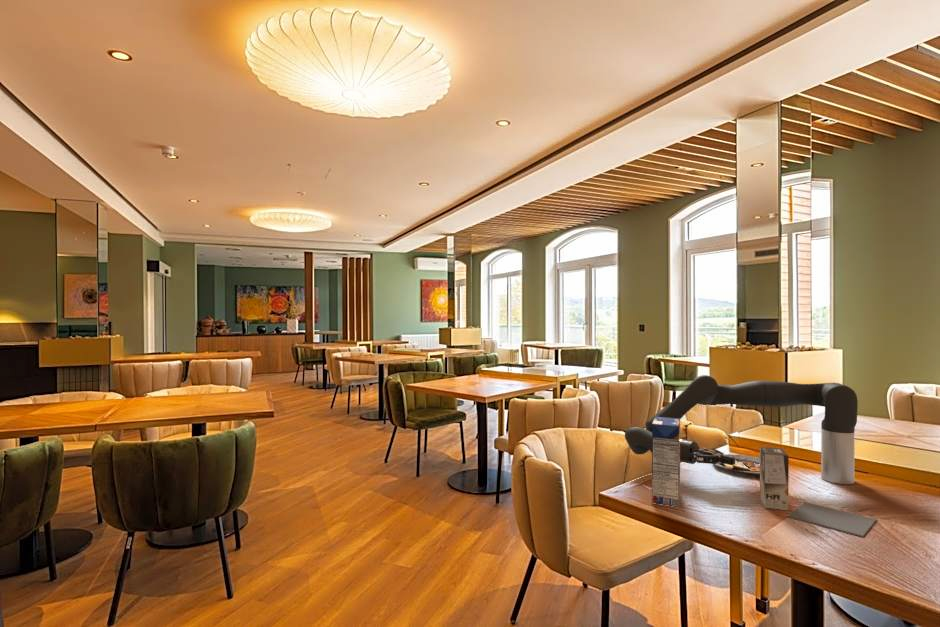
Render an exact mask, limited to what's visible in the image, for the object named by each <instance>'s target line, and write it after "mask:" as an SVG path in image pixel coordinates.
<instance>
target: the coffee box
mask: <svg viewBox="0 0 940 627" xmlns="http://www.w3.org/2000/svg"><path fill="white" fill-rule="evenodd" d="M759 458H760V465H759V467H760V475H759V499H760V502H761V503H762V505H763V507H764V508H765V509H774V510H781V511H789V478H790V477H789V472H790V471H789V469H790V467H789V464H790V462H789V460H790V458H789V455H788V454H787V452H786V451H785V450H784V448H780V447H770V446H760V447H759Z"/></svg>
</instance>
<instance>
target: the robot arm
mask: <svg viewBox="0 0 940 627" xmlns="http://www.w3.org/2000/svg"><path fill="white" fill-rule="evenodd" d="M858 404H859V403H858V396H857V394H856V391H855V390H854V389H853V388H851V387H850V386H848V385H845V384H843V383H839V382H824V383H797V382H788V381H778V380H777V381H776V380H751V381H746V382H742V383H737V384H732V385H731V384H729V385H726V384H724V385H723V384H718V382H717V380H716V379H715V378H713V377H712V376H710V375H705V374H702V375H699V376H696V377H695V378H694V379H693V380H692V381H691V382H690V383H689V385H688V386H687V387H686V388H685V389H684V390H683V391H682V392H681V393H680V394H679V395H678V396H677V397H676V398H674V399H673V400H672V401H671V402H669V403H668V404H667V405H665V406H664V407H663V408H661V409H660V410H659V411H658V412H656V413H654V414H653V415H652V416H651V417H650V418H648V419H647V420H646V422H645V428H643V427H640V426H639V427H638V426H632V427H629V428H628V429H627V430H625V432H624V438H625V441H626V442H627V445H628V446H629V449H631V451H632V453H634V454H635V455H644V454H646V453H648V452H649V451H650V452H651V453H652V423H653V421H654V418H655V417H665V418H677V419H680V420H681V419H682V418H683V417H684V416H685V415H686V414H687V413H688V412H689V411H690V410H691V409H693V408H694V407H695V406H697V405H701V406H717V405H737V406H752V407H753V406H754V407H755V406H756V407H769V408H784V407H785V408H786V407H791V406H797V405H798V406H799V405H800V406H801V405H807V406H808V405H809V406H815V407H816V406H818V407H824V417H823V419H822V420H821V423H820V424H821V428H820V429H821V431H820V432H821V434H820V435H821V441H820V442H821V443H820V445H821V446H820V447H821V448H820V449H821V451H820V452H821V455H820V456H821V457H820V461H821V463H820V464H821V465H820V468H821V471H820V473H821V474H820V476H821V477H820V478H821V479H822V480H824V481H827V482H830V483H834V484H839V485H853V484H855V453H856V452H855V450H856V449H855V446H856V445H855V444H856V443H855V442H856V439H855V430H856V429H855V428H856V425H857V423H858V411H859V410H858V409H859V408H858V406H859V405H858ZM725 455H726V454H724V452H722V451H720V450H718V449H716V448H715V447H714V448H711V449H709V448H707V447H701V448H700V446H699V444H698V443H697V442H696V441H694V440H689V439H684V438H680V463H681V462H682V463H685V464H691V465H695V464H696V463H697V464H710V465H711V464H713V465H715V464H717V463H724V464H729V465H734V464H735V458H734V457H729V456H725Z"/></svg>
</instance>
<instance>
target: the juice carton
mask: <svg viewBox="0 0 940 627" xmlns="http://www.w3.org/2000/svg"><path fill="white" fill-rule="evenodd" d="M680 439H681V419H677V418H665V417H655V418H654V421H653V423H652V452H651V504H652V503H656V504H663V505H669V506H674V507H673V508H675V507H679V508H680V499H679V498H681V497H680V496H681V494H680V493H681V486H680V485H681V461H680Z"/></svg>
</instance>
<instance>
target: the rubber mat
mask: <svg viewBox="0 0 940 627" xmlns="http://www.w3.org/2000/svg"><path fill="white" fill-rule="evenodd" d="M786 517H787V518H790V519H793V520H797V521H800V522H805V523H809V524H812V525H816V526H819V527H823V528H827V529H831V530H835V531H838V532H841V531H842V533H846V534H849V533H850V535H852V534H853V536H856V535H857V537H859V538H860V537H861V538H864V537H865V536H866V534H867V533H868V532H869V531H870V529H871V528H872V527H873V525H874V524H875V523H876V522H875V521H877V518H873V517H868V516H864V515H861V514H856V513H854V512H853V513H852V512H848V511H844V510H840V509H836V508H832V507H828V506H824V505H819V504H816V503H813V502H812V503H810V502H806V501H803V502H802V504H800V505H799V506H798V507H796V508H795V509H794V510H792V511H791V512H790V513H789V514H788V515H787V516H786ZM874 522H875V523H874ZM871 526H872V527H871ZM867 531H868V532H867Z"/></svg>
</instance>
